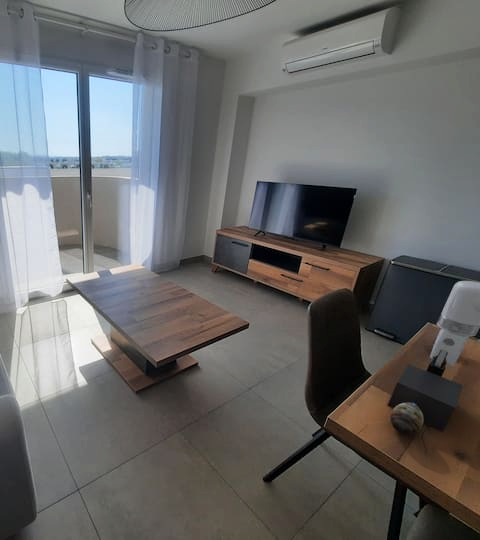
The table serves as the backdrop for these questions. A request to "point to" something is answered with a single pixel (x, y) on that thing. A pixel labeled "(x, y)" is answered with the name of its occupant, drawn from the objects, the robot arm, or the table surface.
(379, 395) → the table surface
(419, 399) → the dark grey box
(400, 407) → the seashell
